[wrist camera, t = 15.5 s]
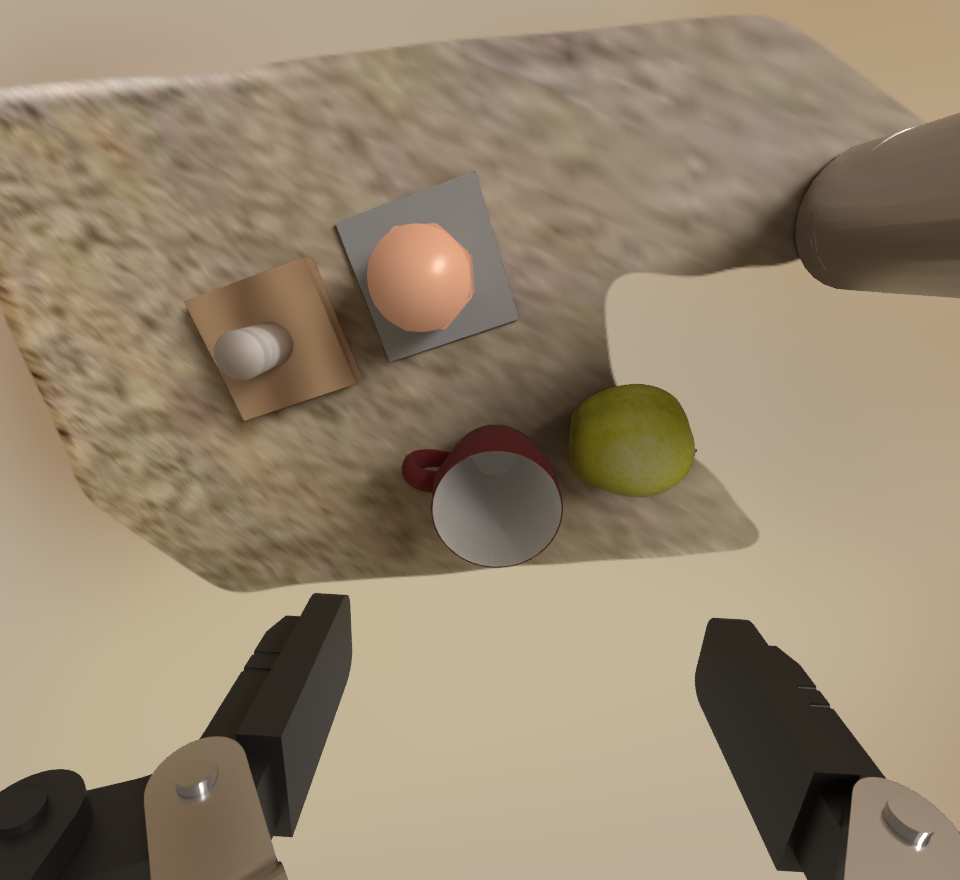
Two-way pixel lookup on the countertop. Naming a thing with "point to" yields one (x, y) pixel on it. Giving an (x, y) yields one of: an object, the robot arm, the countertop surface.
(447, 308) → the cap
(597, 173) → the countertop surface
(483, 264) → the mat
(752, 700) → the robot arm
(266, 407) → the post block
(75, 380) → the countertop surface
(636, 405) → the apple
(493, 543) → the mug
